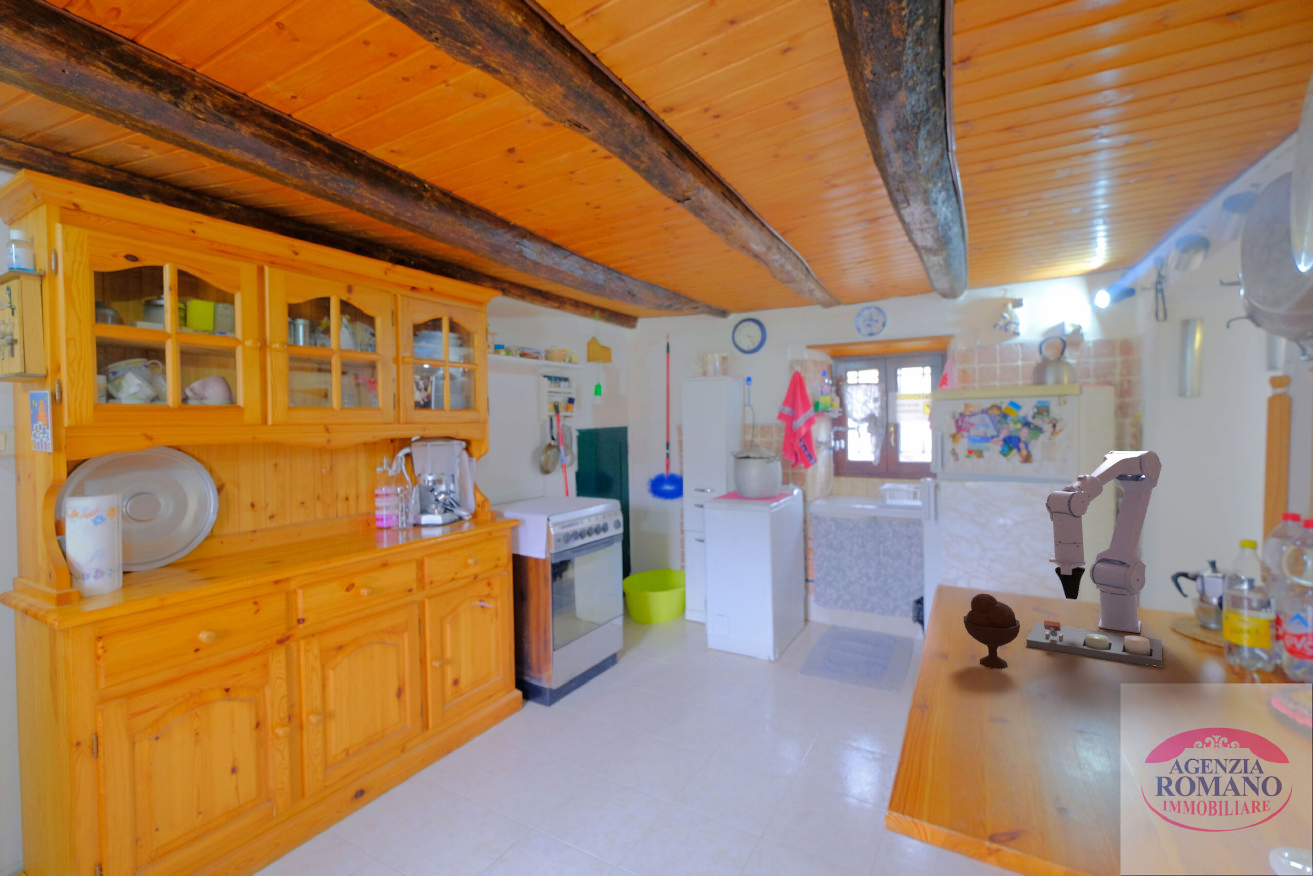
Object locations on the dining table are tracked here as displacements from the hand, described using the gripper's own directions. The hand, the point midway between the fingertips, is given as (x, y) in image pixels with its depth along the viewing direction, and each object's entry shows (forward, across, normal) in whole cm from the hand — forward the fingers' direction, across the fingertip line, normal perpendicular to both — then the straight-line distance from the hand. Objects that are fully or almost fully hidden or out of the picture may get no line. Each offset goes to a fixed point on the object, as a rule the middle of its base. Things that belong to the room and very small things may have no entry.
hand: (1071, 598), depth 141 cm
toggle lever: (+7, +7, -3) cm, 11 cm away
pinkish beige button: (+8, +7, +12) cm, 16 cm away
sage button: (+9, +7, +5) cm, 12 cm away
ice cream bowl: (+10, +26, -12) cm, 30 cm away
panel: (+9, +4, +4) cm, 11 cm away
